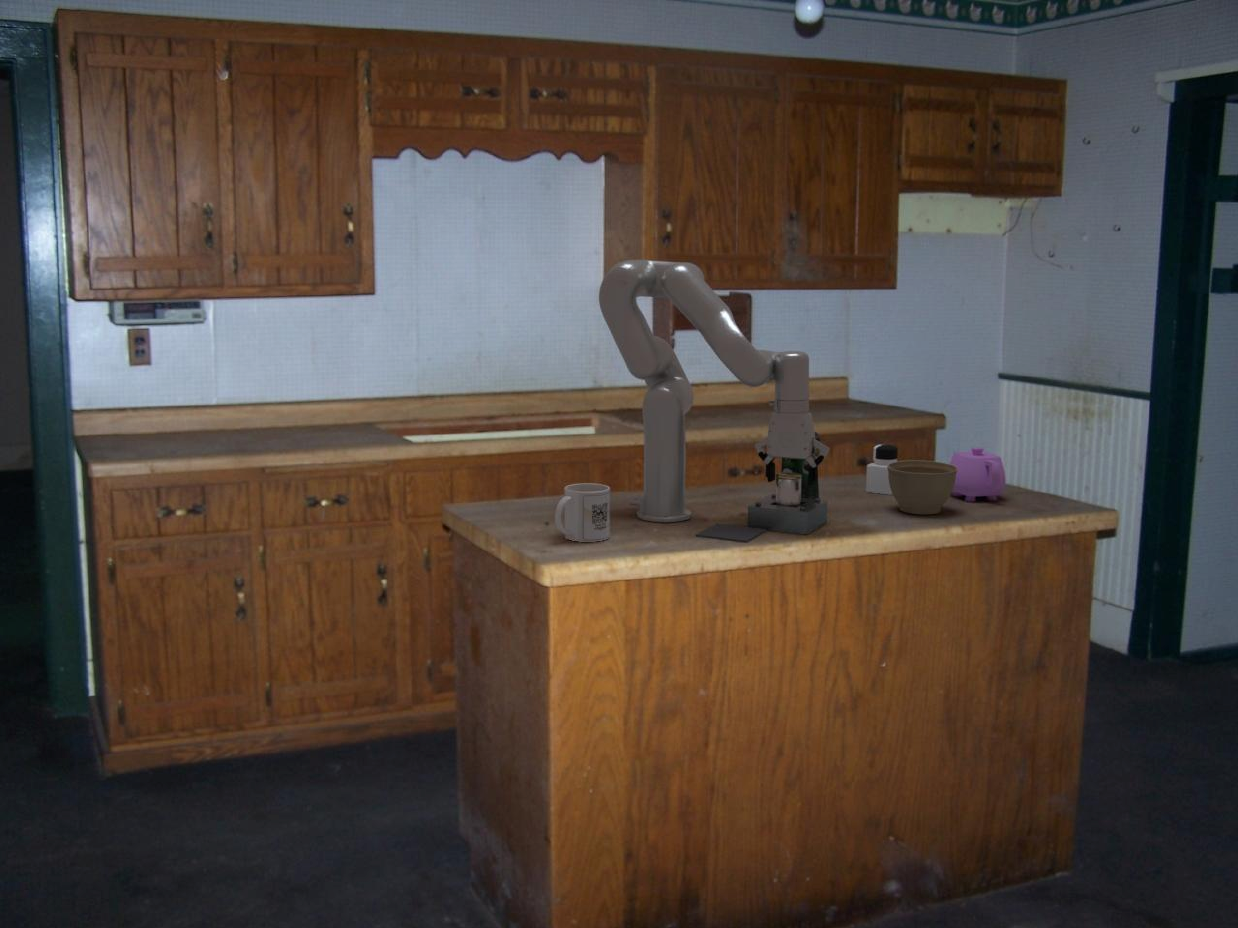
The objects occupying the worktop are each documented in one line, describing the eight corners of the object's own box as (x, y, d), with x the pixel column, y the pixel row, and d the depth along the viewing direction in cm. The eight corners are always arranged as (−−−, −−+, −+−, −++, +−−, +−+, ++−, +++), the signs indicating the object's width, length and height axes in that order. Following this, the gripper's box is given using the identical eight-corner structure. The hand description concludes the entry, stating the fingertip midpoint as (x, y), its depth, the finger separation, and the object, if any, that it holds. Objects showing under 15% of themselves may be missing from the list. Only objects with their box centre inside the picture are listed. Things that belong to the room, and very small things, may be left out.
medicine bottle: (902, 490, 330) (904, 444, 328) (892, 495, 324) (894, 448, 322) (875, 487, 334) (877, 442, 332) (865, 492, 328) (867, 445, 326)
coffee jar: (801, 502, 315) (803, 427, 312) (824, 508, 309) (827, 431, 306) (772, 507, 310) (774, 431, 306) (794, 512, 303) (797, 435, 300)
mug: (611, 543, 273) (611, 492, 271) (555, 544, 272) (555, 493, 270) (608, 532, 283) (608, 482, 281) (553, 532, 282) (553, 483, 280)
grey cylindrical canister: (771, 526, 290) (772, 475, 287) (779, 521, 294) (781, 471, 292) (795, 528, 287) (796, 477, 285) (803, 523, 292) (804, 473, 290)
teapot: (1017, 504, 315) (1021, 453, 312) (972, 506, 312) (975, 455, 309) (975, 488, 334) (978, 440, 331) (932, 490, 331) (934, 441, 328)
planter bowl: (872, 506, 310) (874, 462, 308) (928, 502, 316) (930, 458, 314) (911, 520, 296) (913, 474, 294) (968, 515, 302) (971, 470, 300)
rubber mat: (695, 536, 279) (695, 534, 279) (716, 525, 290) (716, 523, 290) (747, 542, 274) (747, 540, 274) (766, 531, 285) (766, 529, 285)
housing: (747, 527, 288) (747, 503, 287) (769, 515, 300) (769, 492, 299) (807, 534, 281) (807, 509, 280) (826, 522, 294) (827, 498, 293)
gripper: (749, 407, 286) (749, 482, 289) (823, 410, 279) (823, 488, 282) (761, 403, 293) (761, 477, 296) (834, 406, 285) (833, 482, 288)
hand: (791, 482), depth 289 cm, fingers open, 9 cm apart
